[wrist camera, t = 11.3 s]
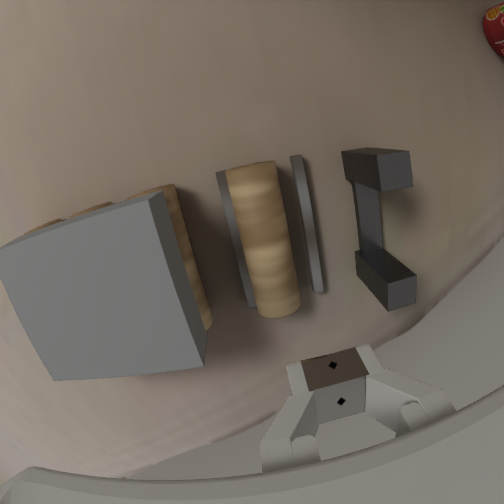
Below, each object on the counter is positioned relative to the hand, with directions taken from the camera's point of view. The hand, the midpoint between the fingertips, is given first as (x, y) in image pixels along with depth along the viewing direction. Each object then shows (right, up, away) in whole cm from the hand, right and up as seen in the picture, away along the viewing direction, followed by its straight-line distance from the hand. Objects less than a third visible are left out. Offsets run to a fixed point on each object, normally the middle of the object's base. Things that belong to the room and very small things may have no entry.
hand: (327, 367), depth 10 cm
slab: (-14, +1, +13) cm, 19 cm away
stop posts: (+7, +7, +16) cm, 19 cm away
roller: (-1, +6, +16) cm, 17 cm away
